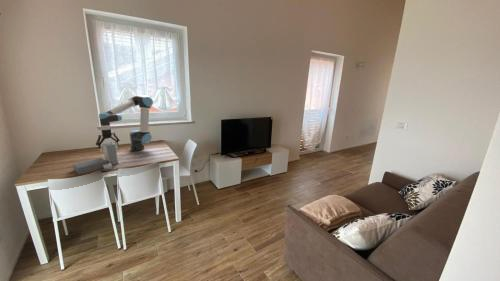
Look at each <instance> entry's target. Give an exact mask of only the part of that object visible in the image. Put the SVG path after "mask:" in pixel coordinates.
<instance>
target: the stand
mask: <svg viewBox="0 0 500 281" xmlns="http://www.w3.org/2000/svg"><path fill="white" fill-rule="evenodd" d="M105 163H106V160H105V158H102V157H97V158H93V159H92V158H91V159H87V160H84V161H80V162H76V163H72V164H71V165H72V170H73V171H74V172H76V174H78V175H83V174H86V173H89V172H93V171H96V170H97V171H98V170H100V169H103V164H105Z"/></svg>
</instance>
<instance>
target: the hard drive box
mask: <svg viewBox="0 0 500 281" xmlns="http://www.w3.org/2000/svg"><path fill="white" fill-rule="evenodd" d="M101 146H102V152H103V156H104V160H106V163H112V166H114V165H118V164H119V160H118V154H117V148H116V146H115V143H113V142H112V141H108V142H102V144H101Z"/></svg>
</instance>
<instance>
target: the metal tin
mask: <svg viewBox="0 0 500 281" xmlns="http://www.w3.org/2000/svg"><path fill="white" fill-rule="evenodd" d="M102 169H103V171H106V172H107V171H108V172H109V171H111V170H113V165H112V163H105V164H103V168H102Z"/></svg>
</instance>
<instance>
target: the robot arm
mask: <svg viewBox="0 0 500 281" xmlns="http://www.w3.org/2000/svg"><path fill="white" fill-rule="evenodd" d="M153 104H154V100H153V98H152V97H151V96H148V95H141V94H138V95H134V96H132V97H130V98H128V100H127V101H124V102H123V103H121V104H119V105H117V106H115V107H113V108H111V109H110V110H108V111H106V112H105V111H103V112H101V113H99V114H98V118H99V123H100V129H101V131H100V132H101V134H98V136H97V140H96V143H95V145H96V146H98V149H99V151H100V152H101V153H102V152H103V145H102V143H104V141H105V140H106V139H111V140H112V141H114V144H115V146H116V149H118V145H119V142H120V139H119V137H118V136H117V135H116V133H115V132H112V129H111V123H116V122H120V121H123V116H122V115H121V114H122V113H123V112H125V111H127V110H129V109H131V108H134V107H137V106H138V107H139V109H140V117H139V118H140V120H139V122H140V123H139V129H135V130H131V131H130V132H129V139H130V143H131V144H130V148H129V151H131V152H140V151H143V150H144V149H145V146H144V144H149V143H150V142H151V141H152V139H153V136H152V134H151V133H150V130H149V123H150V122H149V121H150V117H149V116H150V110H151V107H152V106H153Z"/></svg>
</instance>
